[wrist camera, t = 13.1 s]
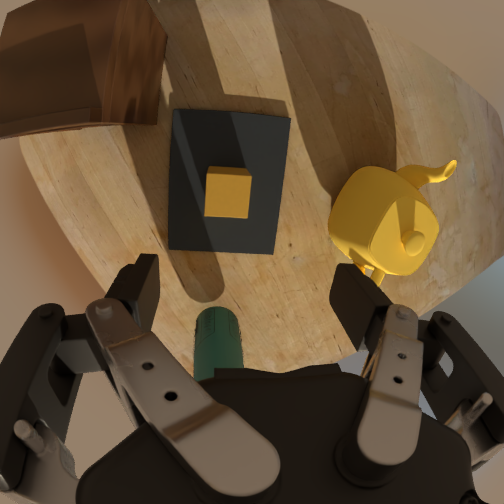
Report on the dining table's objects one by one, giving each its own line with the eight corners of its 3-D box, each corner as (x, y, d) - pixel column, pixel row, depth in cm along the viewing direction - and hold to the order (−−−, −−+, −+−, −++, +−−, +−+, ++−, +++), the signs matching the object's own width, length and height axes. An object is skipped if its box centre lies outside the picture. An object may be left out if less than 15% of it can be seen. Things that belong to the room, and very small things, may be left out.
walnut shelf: (82, 46, 24) (-6, 8, 6) (167, 36, 25) (122, -40, 8) (72, 130, 28) (-30, 145, 11) (156, 125, 30) (89, 122, 13)
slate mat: (174, 109, 30) (173, 109, 29) (289, 118, 32) (291, 118, 31) (169, 247, 37) (168, 249, 36) (272, 253, 39) (273, 254, 38)
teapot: (426, 170, 36) (483, 191, 25) (365, 278, 42) (405, 325, 31) (364, 121, 32) (422, 123, 21) (296, 248, 39) (326, 297, 28)
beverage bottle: (192, 300, 41) (182, 416, 22) (237, 297, 41) (253, 412, 23) (199, 334, 43) (195, 445, 25) (240, 331, 44) (255, 441, 26)
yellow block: (209, 165, 32) (206, 173, 27) (246, 168, 33) (251, 176, 28) (206, 201, 34) (204, 216, 29) (243, 204, 35) (247, 218, 29)
